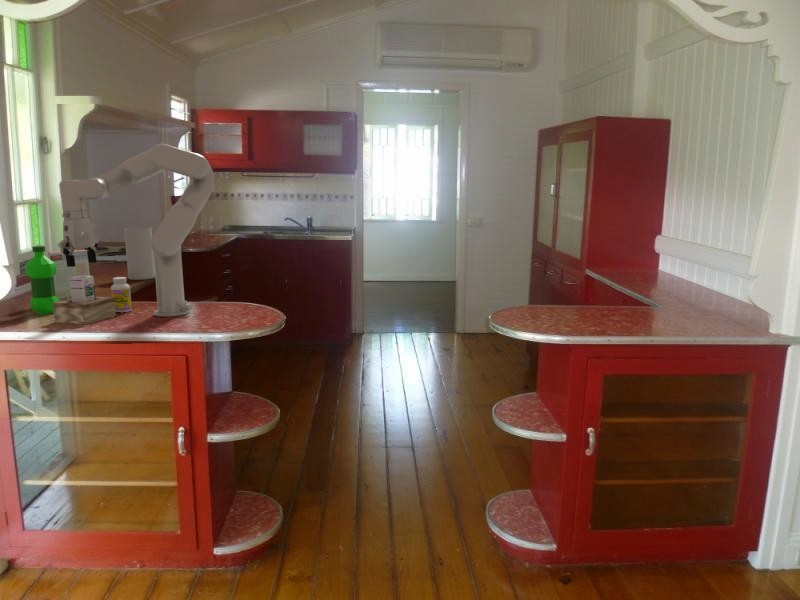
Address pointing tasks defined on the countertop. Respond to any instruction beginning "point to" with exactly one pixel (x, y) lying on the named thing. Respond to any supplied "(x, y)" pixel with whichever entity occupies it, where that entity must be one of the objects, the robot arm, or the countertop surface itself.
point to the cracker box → (68, 271)
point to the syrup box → (82, 289)
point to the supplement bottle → (121, 295)
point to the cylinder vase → (139, 253)
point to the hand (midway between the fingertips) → (82, 264)
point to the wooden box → (84, 310)
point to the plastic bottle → (41, 281)
